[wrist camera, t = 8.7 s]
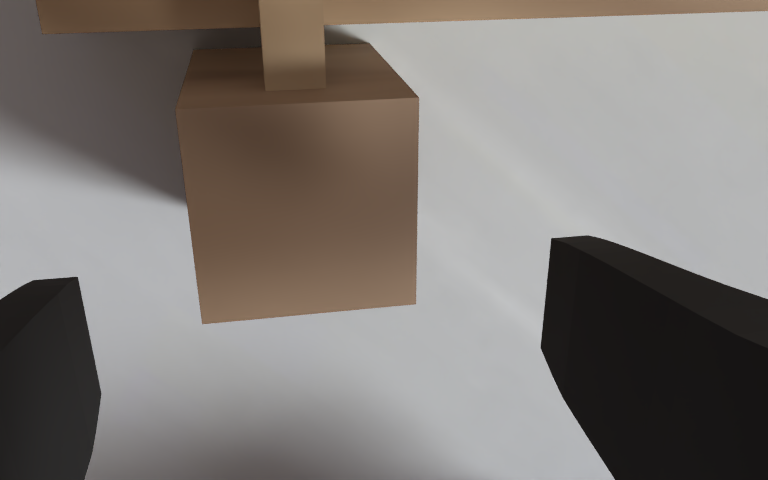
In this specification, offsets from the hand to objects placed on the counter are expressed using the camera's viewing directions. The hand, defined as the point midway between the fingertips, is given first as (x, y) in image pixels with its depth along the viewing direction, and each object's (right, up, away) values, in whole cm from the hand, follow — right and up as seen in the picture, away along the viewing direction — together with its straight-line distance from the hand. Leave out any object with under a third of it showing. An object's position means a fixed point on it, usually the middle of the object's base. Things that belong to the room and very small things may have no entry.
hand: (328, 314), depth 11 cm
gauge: (-2, +6, +8) cm, 10 cm away
